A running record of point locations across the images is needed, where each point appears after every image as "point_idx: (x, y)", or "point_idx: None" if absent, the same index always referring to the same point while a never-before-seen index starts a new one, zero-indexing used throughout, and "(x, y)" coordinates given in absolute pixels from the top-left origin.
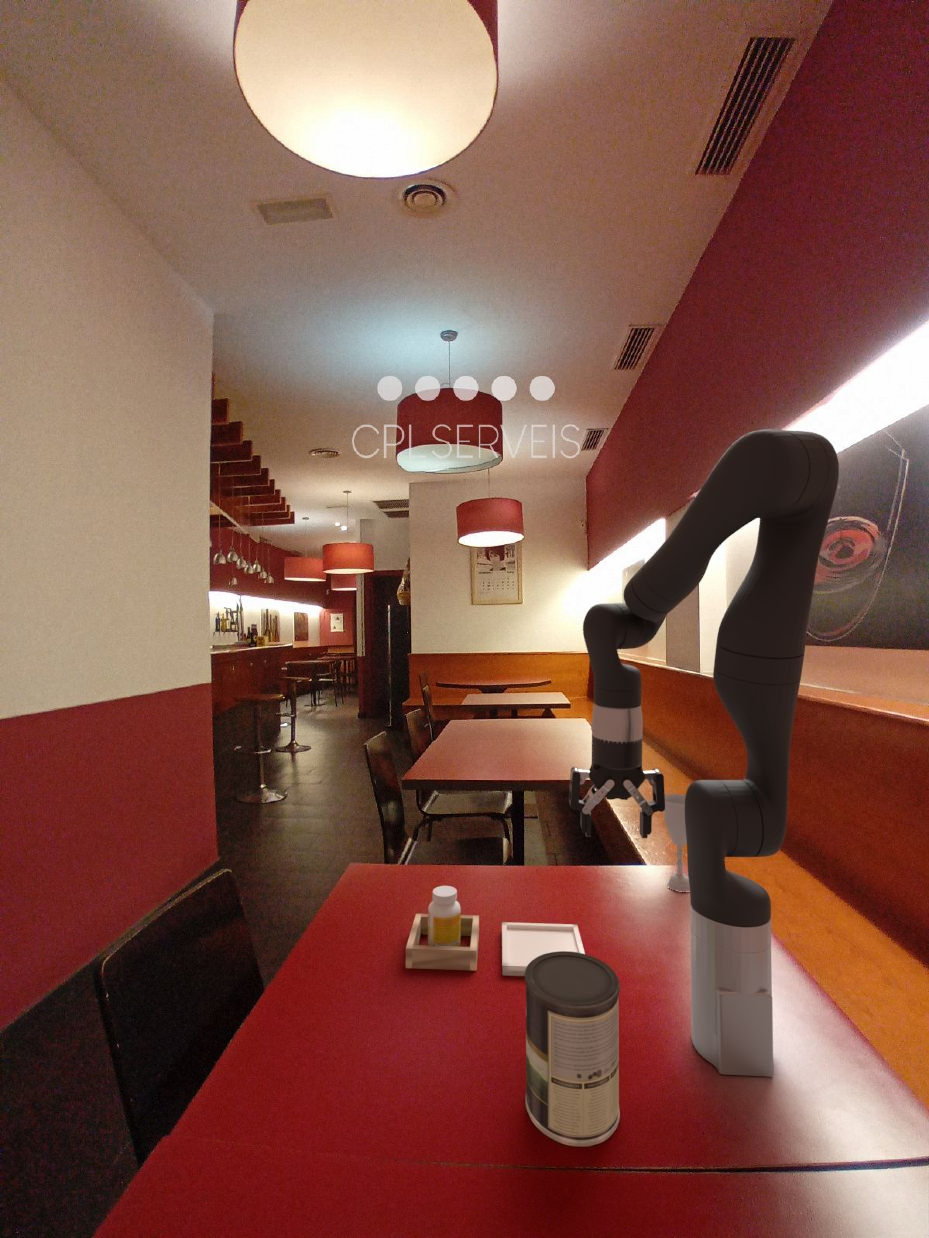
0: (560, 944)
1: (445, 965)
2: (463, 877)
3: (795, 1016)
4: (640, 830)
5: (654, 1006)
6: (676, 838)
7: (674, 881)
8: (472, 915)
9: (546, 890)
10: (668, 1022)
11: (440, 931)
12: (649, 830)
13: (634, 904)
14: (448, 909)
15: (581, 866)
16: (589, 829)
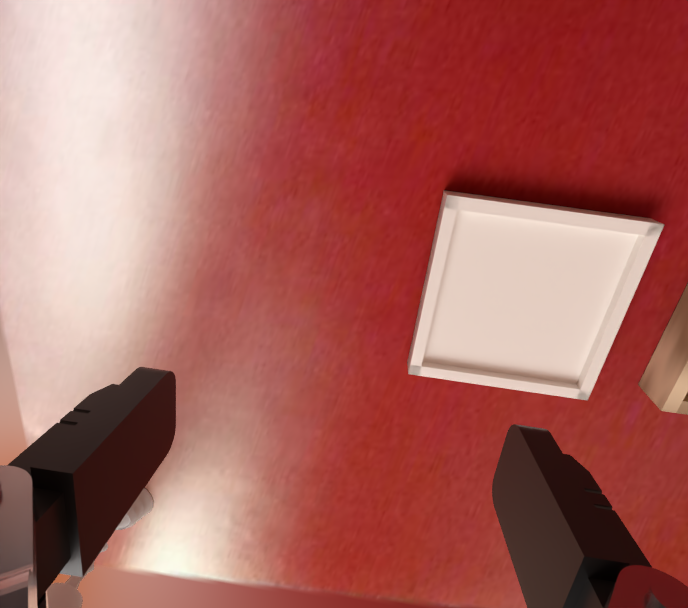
0: (470, 312)
1: None
2: None
3: (14, 11)
4: (162, 438)
5: (326, 70)
6: (64, 601)
7: (132, 506)
8: (677, 412)
9: (418, 519)
10: (314, 2)
11: None
12: (100, 399)
13: (242, 451)
14: None
15: (311, 588)
16: (544, 455)
